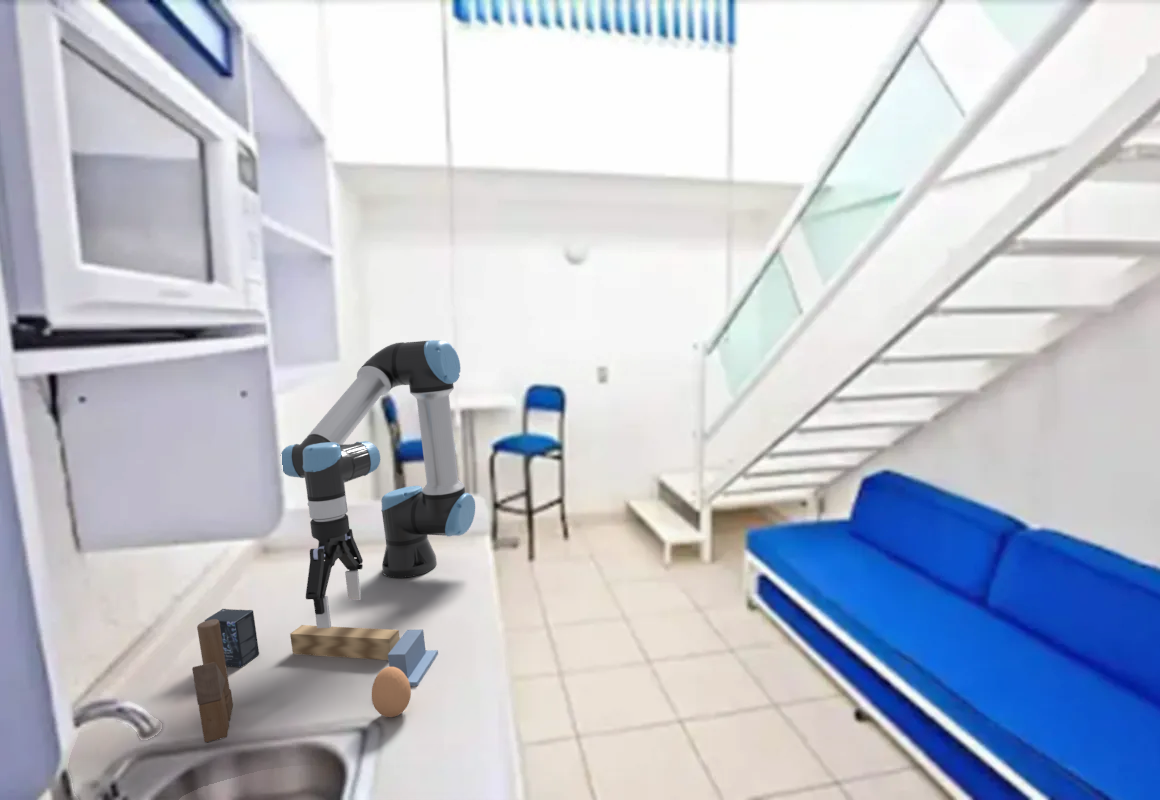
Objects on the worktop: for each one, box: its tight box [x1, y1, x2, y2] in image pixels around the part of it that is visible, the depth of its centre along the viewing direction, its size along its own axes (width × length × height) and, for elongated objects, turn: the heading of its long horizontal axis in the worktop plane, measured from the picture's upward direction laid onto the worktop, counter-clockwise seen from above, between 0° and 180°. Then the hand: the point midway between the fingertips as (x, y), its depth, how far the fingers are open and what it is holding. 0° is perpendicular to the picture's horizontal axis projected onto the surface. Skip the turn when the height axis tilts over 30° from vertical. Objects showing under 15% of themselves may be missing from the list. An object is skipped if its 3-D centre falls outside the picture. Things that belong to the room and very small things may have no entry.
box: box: [204, 608, 260, 668], centre depth 142 cm, size 8×6×11 cm
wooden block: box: [191, 619, 234, 743], centre depth 118 cm, size 4×11×18 cm, turn 23°
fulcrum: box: [387, 629, 439, 687], centre depth 133 cm, size 12×8×6 cm, turn 173°
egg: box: [371, 666, 412, 718], centre depth 117 cm, size 7×7×9 cm
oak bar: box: [289, 624, 401, 661], centre depth 142 cm, size 24×4×5 cm, turn 76°
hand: (340, 612), depth 141 cm, fingers open, 13 cm apart
